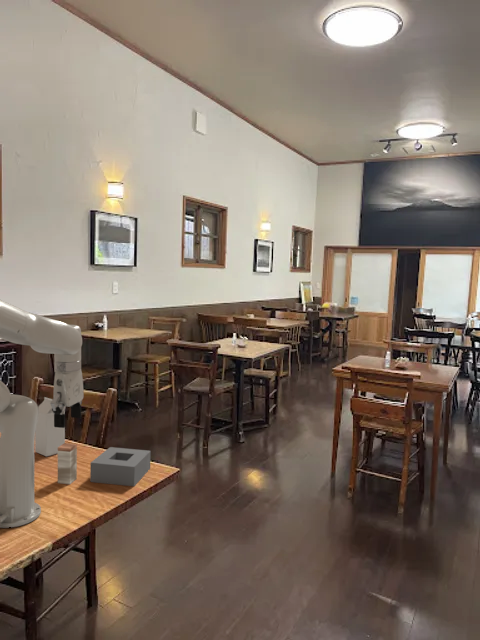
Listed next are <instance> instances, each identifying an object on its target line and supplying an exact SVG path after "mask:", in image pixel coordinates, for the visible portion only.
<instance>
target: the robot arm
mask: <svg viewBox="0 0 480 640" xmlns="http://www.w3.org/2000/svg"><path fill="white" fill-rule="evenodd" d="M0 339H1V340H4V341H7V342H9V343H13V344H16V345H17V344H18V345H22V346H30V348H31V349H32V350H33V351H34V352H37V353H41V354H50V355H51V354H54V355H53V356H54V364H53V365H54V367H53V368H54V380H53V398H52V401H51V407H52V411H53V414H54V427H59V428H64V427H65V428H66V414H64V411H65V412H66V407H70V417H71V418H72V419H80V418H82V404H83V399H84V394H85V393H84V379H83V372H82V346H83V336H82V329H81V326H79V325H76V324H68V323H66V322H63V321H59V320H56V319H54V318H53V319H52V318H50V317H46V316H43V315H40V314H36V313H33V312H28V311H26V310H24V309H22V308H19V307H17V306H14V305H13V304H11V303H9V302H6V301H5V300H1V299H0ZM38 407H39V405H38V403H37V402H36V401H35V400H34V399H32V398H31V397H27V396H25V395H20V394H13V393H12V394H11V391H10V389H9V387H8V386H7V385H6V384H5V383H4V382H3V381H2V380H0V528H1V529H9V527H11V528H17V527H20V526H24V525H27V524H29V523H31V522H33V521H34V520H36V519H38V518H39V516H40V515H41V514H42V513H41V512H42V508H41V505H40V504H39V503H38V502H35V431H36V425H37V421H38V415H39V409H38ZM59 407H61V409H60V408H59Z"/></svg>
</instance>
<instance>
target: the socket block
mask: <svg viewBox="0 0 480 640" xmlns="http://www.w3.org/2000/svg"><path fill="white" fill-rule="evenodd" d="M150 469H151V450H146V449H134V448H124V447H113V446H110V447H108V448H107V449H105V451H103V452H102V453H101V454H100V455H98V456H97V457H96V458H95V459H93V460H92V461H91V462H90V471H89V472H90V474H89V475H90V478H89V479H90V482H91V483H98V484H107V485H118V486H127V487H135V486H137V484H138V483H139V482H140V481H141V479H143V477H144V476H145V475H147V473H148V472H149V471H150ZM148 470H149V471H148Z"/></svg>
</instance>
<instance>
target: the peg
mask: <svg viewBox="0 0 480 640" xmlns="http://www.w3.org/2000/svg"><path fill="white" fill-rule="evenodd" d="M77 449H78V444H76V443H68V442H65V443H64V444H62V445H61V446H59V447H58V453H57V484H62V485H63V484H64V485H71V484H72V483H74V482H76V480H77V477H78V476H77V475H78V474H77V473H78V472H77V469H78V466H77V465H78V462H77V461H78V455H77V454H78V450H77Z"/></svg>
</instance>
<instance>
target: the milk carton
mask: <svg viewBox="0 0 480 640" xmlns="http://www.w3.org/2000/svg"><path fill="white" fill-rule="evenodd" d="M43 399H44V400H43V401H42V402H41V403H40V404H39V405H38V409H39V415H38V421H37V425H36V431H35V441H34V453H37V454H40V455H42V456H45V457H50V456H53V455H58V447H59V446H61V445H62V444H64V443H66V438H65V437H66V432H65V431H66V429H65V428H66V426H65V427H64V428H59V427H54V414H53V411H52V407H51V401H52V400H53V398H48V397H45V396H44V397H43ZM59 408H60V409H61V408H62V407H59ZM65 412H66V410H65V411H64V414H65ZM65 415H66V414H65Z"/></svg>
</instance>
